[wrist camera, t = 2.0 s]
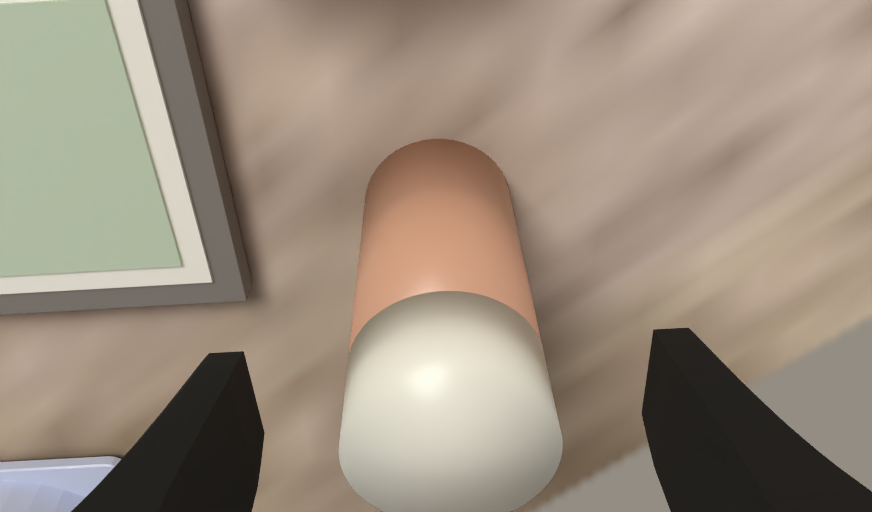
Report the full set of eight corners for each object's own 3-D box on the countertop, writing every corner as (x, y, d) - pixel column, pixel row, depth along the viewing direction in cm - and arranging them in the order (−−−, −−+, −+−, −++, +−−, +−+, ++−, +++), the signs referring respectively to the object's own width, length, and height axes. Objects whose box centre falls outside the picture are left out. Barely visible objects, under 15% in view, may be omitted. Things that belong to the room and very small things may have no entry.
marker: (509, 260, 20) (558, 519, 13) (372, 268, 20) (352, 531, 13) (510, 134, 18) (567, 365, 11) (357, 143, 18) (324, 377, 11)
